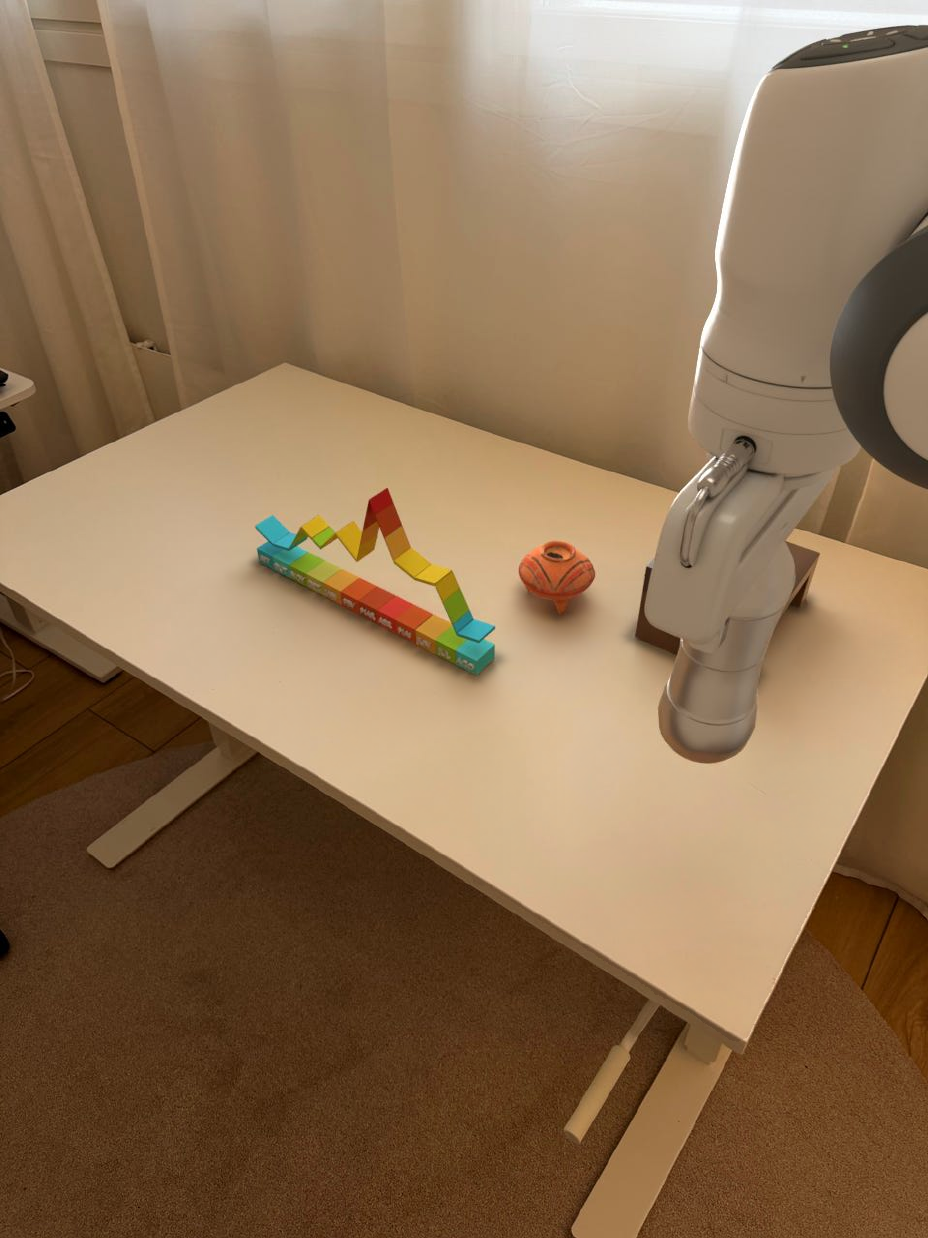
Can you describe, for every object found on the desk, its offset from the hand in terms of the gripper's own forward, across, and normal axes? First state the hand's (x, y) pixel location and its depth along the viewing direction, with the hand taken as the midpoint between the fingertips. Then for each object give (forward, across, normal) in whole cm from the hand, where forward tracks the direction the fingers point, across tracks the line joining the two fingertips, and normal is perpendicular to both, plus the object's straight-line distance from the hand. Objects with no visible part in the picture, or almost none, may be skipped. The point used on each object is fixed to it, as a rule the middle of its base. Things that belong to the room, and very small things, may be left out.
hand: (731, 609), depth 55 cm
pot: (+25, +22, +24) cm, 41 cm away
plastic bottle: (+12, 0, 0) cm, 12 cm away
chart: (+25, +9, +39) cm, 47 cm away
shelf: (+25, +29, +8) cm, 39 cm away
